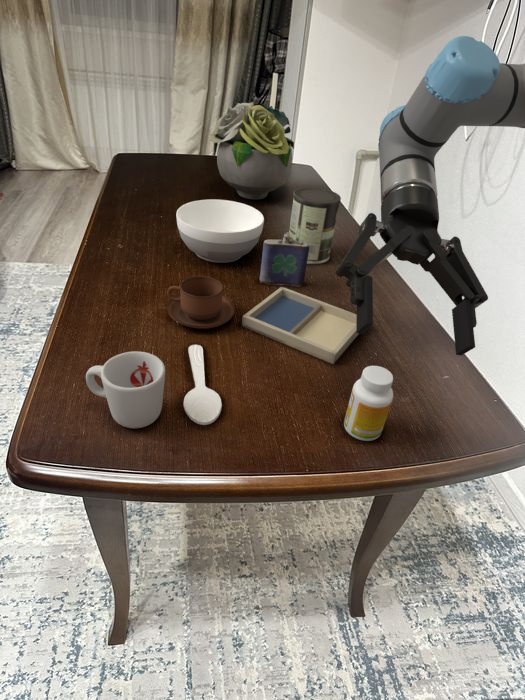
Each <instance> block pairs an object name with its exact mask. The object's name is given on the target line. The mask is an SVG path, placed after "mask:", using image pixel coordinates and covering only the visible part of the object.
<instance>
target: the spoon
mask: <svg viewBox="0 0 525 700" xmlns="http://www.w3.org/2000/svg"><path fill="white" fill-rule="evenodd" d="M187 348H188V349H187V353H188V357H189V362H190V367H191V372H192V378H193V382H194V388H192V389H191V390H189V391H188V392H187V393H186V394H185V396H184V398H183V402H182V403H183V409H184V412H185V414H186V415H187V417H188V418H189V420H191V421H192V422H194V423H195V424H198V425H200V426H201V425H202V426H207V425H210V424H212V423H214V422H215V421H217V419H218V418H219V416H220V414H221V411H222V407H223V404H222V398H221V396H220V394H219V393H217V392H216V391H215V390H214V389H211V388H209V387H207V386H206V377H205V361H204V360H205V359H204V349H203V346H201V345H200V344H191V345H189V346H188V347H187Z"/></svg>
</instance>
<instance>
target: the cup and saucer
mask: <svg viewBox="0 0 525 700" xmlns="http://www.w3.org/2000/svg"><path fill="white" fill-rule="evenodd" d="M174 290H175V291H177V292H179V293H178V294H176V295H174V296H173V295H172V293H171V292H172V291H174ZM223 291H224V286H223V284H222V282H221V281H219V280H218V279H217V278H213V277H210V276H204V275H196V276H191V277H187V278H185V279H184V280H182V281H181V283H180V286H179V285H178V286H177V285H172V286H169V287H168V288H167V290H166V295H167V297H168V299H170V300H169V301H168V302H167V305H166V310H167V314H168V315H169V316H170V318H171V319H172V320H174V321H175V322H176V323H178V324H180V325H181V326H183V327H187V328H193V329H200V330H203V329H205V330H206V329H212V328H213V329H214V328H217V327H220V326H222V325H224V324H225V323H228V322H229V321H230V320H232V318H233V316H234V314H235V311H236V307H235V306H236V305H235V304H234V302H233V301H232V300H231V299H230V298H229V297H227V296H225V295H224V292H223Z"/></svg>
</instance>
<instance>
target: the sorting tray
mask: <svg viewBox="0 0 525 700" xmlns="http://www.w3.org/2000/svg"><path fill="white" fill-rule="evenodd" d="M241 320H242V321H241V326H242V327H244V328H246V329H249V330H250V331H253V332H256V333H258V334H260V335H262V336H264V337H267V338H269V339H272V340H274V341H277V342H279V343H282V344H284V345H286V346H289V347H291V348H293V349H296V350H298V351H301V352H303V353H306V354H308V355H311V356H312V357H315V358H317V359H320V360H322V361H324V362H327V363H329V364H332V365H334V364H335V363H336V362H337V361H338V359H339V358H340V357H342V355H343V354H344V353H345V351H346V350H347V349H348V348H349V346H350V345H352V344H353V342H354V340H355V339H356V338H357V337H358V336H359V335H360V334H359V333H356V321H357V313H354V312H351V311H348V310H346V309H343V308H341V307H339V306H335V305H332V304H330V303H327V302H324V301H322V300H319V299H316V298H314V297H312V296H311V297H310V296H308V295H305V294H302V293H301V292H297V291H295V290H292V289H289V288H286V287H284V286H280V287H278V289H276V290H275V291H274V292H272V293H271V294H269V295H268V296H267V297H265V298H264V299H263V300H261V302H259V303H258V304H256V305H255V306H254V307H252V309H250V310H249V311H247V312H246V313H245V314H243V315H242V319H241Z"/></svg>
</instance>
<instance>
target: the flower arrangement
mask: <svg viewBox="0 0 525 700" xmlns="http://www.w3.org/2000/svg"><path fill="white" fill-rule="evenodd" d="M287 125H288V126H287ZM286 126H287V127H286ZM290 126H291V124H290V120H289V118H288V117H287V115H286V113H285V112H284V111H283V110H282V111H280V110H278V109H275V108H274V106H272V105H270V106H266V105H265V104H263V103H261V102H259V103H254V101H250V102H241V103H239V102H238V103H237V104H236V105H235V106H234V107H232V106H228V108H227V110H226V112H225V113H224V114H223V115H222V116H221V117H219V118H218V119H217V121H216V124H215V127H214V129H213V131H212V133H210V135H209V138H208V140H209V141H210V142H212V143H213V159H214V160H215V159H216V165H217V169H218V172H219V175H220V176H221V178H222V179H223V181H225V182H226V183H227V184H228V186H230V187H232V188H234V189H235V190H236V193H237V194H238V195H239V197H241V198H243V199H247V200H263V199H265V198H267V196H268V194H269V193H270V192H273V191H275V190H277V189H279V188H280V187H282V186H283V185H285V184H286V183H287V181H288V179H289V177H290V174H291V170H292V164H293V150H294V149H295V142H294V140H292V138H289V137H287V136H286V134H290V133H291V132H292V131H291V127H290ZM285 127H286V128H285ZM216 153H217V154H216ZM215 157H216V158H215Z"/></svg>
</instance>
